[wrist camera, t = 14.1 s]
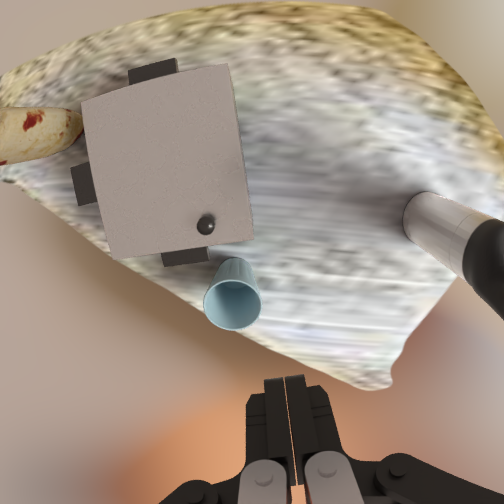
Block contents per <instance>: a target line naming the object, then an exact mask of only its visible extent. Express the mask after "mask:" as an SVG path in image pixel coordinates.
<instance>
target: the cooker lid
mask: <svg viewBox="0 0 504 504" xmlns="http://www.w3.org/2000/svg"><path fill="white" fill-rule="evenodd" d="M81 108H82V117H83V124H84V131H85V138H86V144H87V150H88V156H89V161H90V162H87V163H84V164H81V165H78V166H75V167H72V168H70V169H71V174H72V179H73V184H74V189H75V193H76V198H77V202H78V206H81V205H85V204H89V203H93V202H97V201H98V205H99V209H100V213H101V218H102V222H103V225H104V229H105V233H106V237H107V241H108V244H109V248H110V251H111V255H112V258H113V260H117V259H123V258H130V257H136V256H143V255H150V254H156V253H163V252H170V251H177V250H184V249H190V248H197V247H204V246H211V245H218V244H225V243H232V242H239V241H246V240H254V235H253V228H252V222H251V215H250V208H249V201H248V195H247V188H246V181H245V175H244V168H243V161H242V155H241V148H240V141H239V135H238V128H237V122H236V115H235V109H234V102H233V95H232V89H231V82H230V76H229V69H228V64H227V63H226V64H220V65H214V66H208V67H203V68H198V69H193V70H188V71H184V72H179V73H175V74H171V75H166V76H162V77H158V78H155V79H151V80H147V81H144V82H140V83H137V84H133V85H130V86H127V87H123V88H120V89H117V90H114V91H111V92H108V93H105V94H102V95H99V96H96V97H94V98H91V99H88V100H86V101H83V102H81Z"/></svg>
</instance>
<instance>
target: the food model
mask: <svg viewBox="0 0 504 504" xmlns="http://www.w3.org/2000/svg"><path fill="white" fill-rule="evenodd" d="M83 131H84V124H83V117H82V115H81V114H79V113H77V112H75V111H72V110H68V109H63V108H53V107H4V108H0V166H1V165H8V164H14V163H19V162H24V161H29V160H35V159H39V158H44V157H48V156H50V155H53V154H55V153H58V152H60V151H63V150H64V149H66V148H68V147H69V146H70V145H72V144H73V143H74V142H75V141H76V140H77V139H78V138H79V137H80V136H81V134H82V133H83Z"/></svg>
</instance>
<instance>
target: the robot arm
mask: <svg viewBox="0 0 504 504" xmlns="http://www.w3.org/2000/svg"><path fill="white" fill-rule="evenodd" d="M403 227H404V231H405V233H406V235H407V237H408V238H409V239H410V240H411V241H413V242H414V243H415V244H417V245H418V246H419V247H421V248H422V249H423V250H425V251H426V252H428V253H429V254H430V255H432V256H433V257H434V258H436V259H437V260H438V261H440V262H441V263H442V264H444V265H445V266H446V267H448V268H449V269H450V270H452V271H453V272H454V273H455V274H457V275H458V276H459V277H461V278H462V279H463V280H464V281H466V282H467V283H468V284H470V285H471V286H472V287H473V289H474V291H475V292H476V293H477V294H478V295H479V296H480V297H481V298H482V299H483V300H484V301H485V302H486V303H487V304H489V306H490V307H491V308H492V309H493V310H494V311H495V312H496V313H497V314H498V315H499V316H500V317H501V318H502V319H503V320H504V222H502V221H500V220H498V219H495V218H493V217H491V216H489V215H486V214H484V213H482V212H479V211H477V210H474V209H472V208H470V207H467V206H465V205H462V204H460V203H457V202H455V201H452V200H450V199H447V198H445V197H442V196H440V195H437V194H434V193H431V192H422V193H419V194H417V195H416V196H414V197H413V198H412V199H411V200H410V202H409V203H408V204H407V206H406V209H405V211H404V215H403ZM285 384H286V393H287V403H288V410H289V418H290V425H291V434H292V441H293V449H294V457H295V465H296V472H297V481H298V485H302V484H304V488H305V496H306V504H504V495H503V494H500V493H497V492H494V491H492V490H489V489H486V488H484V487H481V486H478V485H476V484H473V483H471V482H468V481H466V480H464V479H461V478H458V477H456V476H454V475H452V474H449V473H447V472H445V471H443V470H440V469H438V468H436V467H434V466H432V465H429V464H427V463H425V462H423V461H421V460H419V459H416V458H415V457H412V456H411V455H408V454H404V453H395V454H391V455H389V456H387V457H385V458H384V459H383V460H381V461H359V460H355V459H353V458H351V457H349V456H348V455H347V454H346V453H345V452H344V450H343V449H342V446H341V442H340V438H339V435H338V431H337V427H336V423H335V420H334V416H333V412H332V408H331V405H330V401H329V397H328V394H327V393H326V392H325V391H324V389H323V388H322V387H321V386H320V385H317V386H311V387H307V386H306V382H305V377H304V374H301V375H295V376H287V377H285ZM264 390H265V393H260V394H252V395H251V396H250V398H249V400H248V402H247V404H246V462H245V466H244V468H243V469H242V471H241V472H240V473H239V474H238V475H236V476H235V477H233V478H231V479H229V480H226V481H223V482H219V483H216V484H213V485H211V484H210V483H208V482H206V481H202V480H191V481H188V482H185V483H183V484H182V485H181V486H179V487H178V488H177V489H176V490H174V491H173V492H172V493H171V494H170V495H168V496H167V497H166V498H165V499H164V500H162V501H161V502H160V503H159V504H291V503H292V496H291V486H295V485H296V479H295V469H294V458H293V450H292V443H291V434H290V426H289V419H288V411H287V404H286V396H285V388H284V381H283V377H281V378H273V379H265V380H264Z"/></svg>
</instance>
